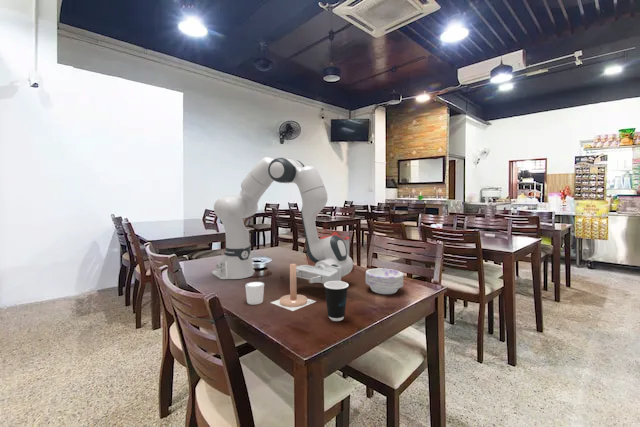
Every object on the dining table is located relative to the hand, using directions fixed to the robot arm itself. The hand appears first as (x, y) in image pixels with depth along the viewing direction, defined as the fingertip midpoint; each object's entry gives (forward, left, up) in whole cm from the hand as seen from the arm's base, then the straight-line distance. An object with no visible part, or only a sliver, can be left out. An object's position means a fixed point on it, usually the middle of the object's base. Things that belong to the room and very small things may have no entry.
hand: (300, 278), depth 111 cm
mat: (0, -4, -8) cm, 9 cm away
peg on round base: (0, -4, -8) cm, 9 cm away
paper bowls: (+18, +30, -9) cm, 36 cm away
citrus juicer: (-20, +46, -9) cm, 51 cm away
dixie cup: (+20, -4, -9) cm, 22 cm away
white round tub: (-11, -13, -9) cm, 19 cm away
